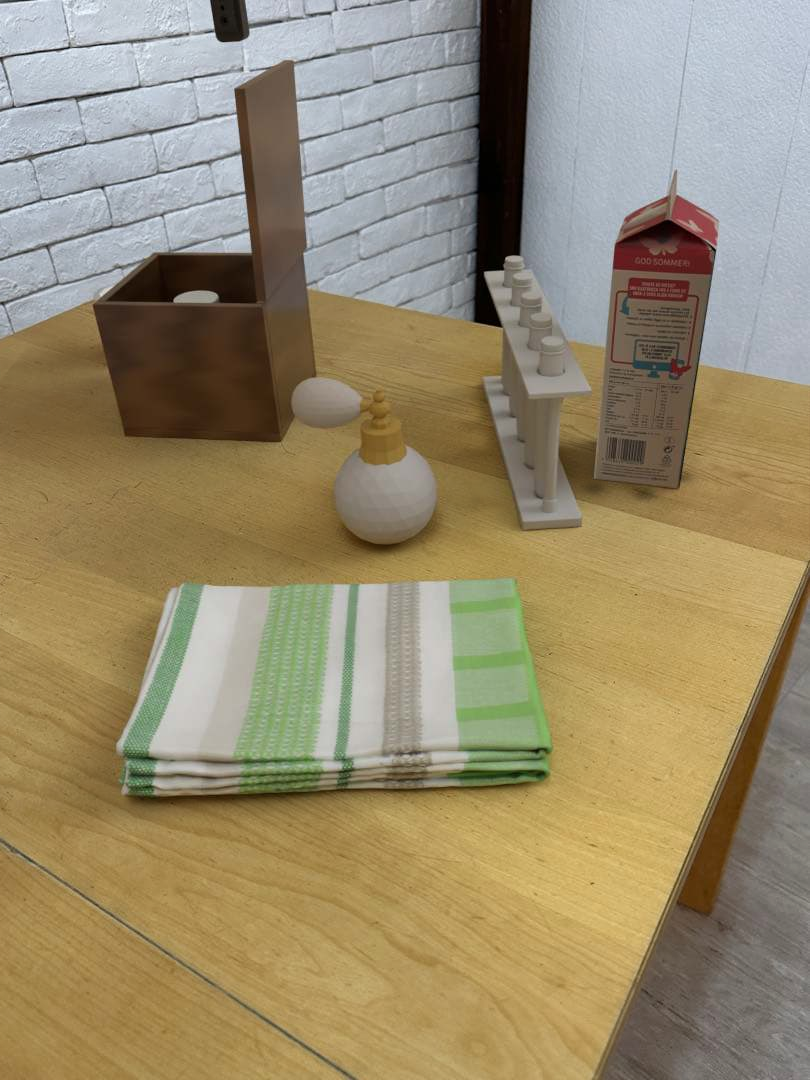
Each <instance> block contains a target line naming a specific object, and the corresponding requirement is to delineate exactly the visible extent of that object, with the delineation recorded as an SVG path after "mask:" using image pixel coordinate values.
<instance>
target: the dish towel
mask: <svg viewBox="0 0 810 1080" xmlns="http://www.w3.org/2000/svg"><path fill="white" fill-rule="evenodd" d="M517 583H518V580H517V579H516V578H514V577H499V578H488V579H486V578H485V579H455V580H454V579H453V580H452V579H451V580H435V581H433V580H432V581H431V580H418V581H416V580H411V581H397V582H396V581H395V582H387V583H352V584H351V583H349V584H348V583H347V584H344V583H341V584H340V583H298V584H286V585H273V586H272V585H271V586H247V585H245V586H244V585H243V586H242V585H237V586H235V585H212V584H205V583H196V582H184V583H181V584H179V587H171V588H170V589H169V592H168V593H167V594H166V597H165V598H166V599H165V601H164V604H163V607H162V611H161V616H160V619H159V622H158V624H157V628H156V629H157V630H156V633H155V637H154V641H153V643H152V648H151V651H150V654H149V657H148V661H147V664H146V667H145V671H144V675H143V678H142V682H141V684H140V689H139V693H138V697H137V700H136V702H135V705H134V707H133V710H132V712H131V714H130V716H129V719H128V721H127V723H126V725H124V728H123V730H122V733H121V736H120V738H119V740H118V741H117V742H116V745H115V751H116V755H117V756H118V757H125V758H124V762H123V766H122V772H121V777H119V779H118V783H119V784H120V785H121V786H122V788H121V791H120V793H121V795H122V796H129V795H130V796H131V795H132V796H136V797H137V796H138V797H150V798H154V797H175V796H209V795H210V796H211V795H215V796H217V795H251V794H264V793H266V794H267V793H272V794H276V793H291V792H293V793H301V792H302V793H306V792H307V793H308V792H318V791H329V790H340V789H341V790H346V789H388V790H398V789H405V790H406V789H407V790H411V789H428V788H444V787H460V788H461V787H483V786H484V787H485V786H497V785H504V784H515V785H516V784H521V783H541V782H543V781H545V780H546V779H548V778H550V776H551V770H550V768H551V767H550V764H549V761H548V758H547V755H550V754H551V753H552V752H553V750H554V747H553V740H552V735H551V731H550V729H549V724H548V720H547V716H546V711H545V708H544V704H543V701H542V697H541V693H540V690H539V685H538V681H537V677H536V673H535V666H534V659H533V656H532V653H531V652H532V651H531V650H530V645H529V642H528V637H527V632H526V626H525V620H524V607H523V602H522V599H521V597H520V594H519V591H518V587H517Z"/></svg>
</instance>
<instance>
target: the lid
mask: <svg viewBox="0 0 810 1080" xmlns="http://www.w3.org/2000/svg"><path fill="white" fill-rule="evenodd" d="M233 91H234V92H233V93H234V100H235V101H234V102H235V109H236V120H237V129H238V138H239V145H240V146H239V147H240V156H241V165H242V166H241V167H242V175H243V185H244V194H245V203H246V205H245V206H246V211H247V224H248V232H249V242H250V249H251V250H250V251H251V253H252V260H253V270H254V279H255V288H256V298H257V301H265V302H266V301H267V300H268V299H269V297H270V296H271V295H272V293H273V292H274V291H275V289H276V288H277V287H278V285H279V284H280V283H281V282H282V280H283V279H284V278H285V276H286V275H287V274H288V272H289V271H290V270H291V268H292V267H293V266H294V264H295V263H296V262H297V261H298V259H299V258H300V257H301V255H302V254H303V255H304V253H305V252H306V250H307V249H308V241H307V228H306V215H305V214H306V213H305V199H304V186H303V185H304V184H303V174H302V173H303V171H302V170H303V169H302V158H301V143H300V131H299V130H300V128H299V117H298V116H299V115H298V102H297V101H298V100H297V87H296V73H295V61H294V59H284V60H282V61H281V62H279V63H277V64H275V65H273V66H271V67H270V68H268V69H266V70H264V71H263V72H261V73H259V74H258V75H256V76H254V77H252V78H251V79H248V80H247V81H245V82H244V83H242V84H240V85H238V86H236V87H235V88H234V89H233Z"/></svg>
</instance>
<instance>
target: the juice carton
mask: <svg viewBox="0 0 810 1080" xmlns="http://www.w3.org/2000/svg"><path fill="white" fill-rule="evenodd" d="M677 184H678V169H674V172H673V175H672V179H671V183H670V187H669V190H668V195H666V196H663V197H662V198H659V199H657V200H655V201H653V202H651V203H649V204H647V205H644V206H642V207H640V208H638V209H636V210H634V211H633V212H630V213H629V214H628V215H626V216H625V217H624V219H623V222H622V224H621V227H620V229H619V232H618V235H617V237H616V240H615V243H614V247H613V248H614V249H613V257H612V258H613V259H612V269H611V270H612V271H611V280H610V292H609V302H608V303H609V304H608V314H607V315H608V316H607V325H606V338H605V348H604V359H603V371H602V381H601V382H602V383H601V392H600V405H599V412H598V413H599V416H598V423H597V424H598V427H597V435H596V448H595V460H594V471H593V480H599V481H600V480H602V481H610V482H617V483H618V482H619V483H626V484H634V485H635V484H636V485H643V486H651V487H652V486H653V487H660V488H670V489H676V490H677V489H679V490H680V487H681V481H682V475H683V467H684V461H685V454H686V448H687V443H688V435H689V428H690V423H691V416H692V410H693V403H694V397H695V390H696V384H697V379H698V372H699V365H700V358H701V352H702V345H703V339H704V333H705V325H706V320H707V319H706V318H707V314H708V308H709V307H708V306H709V301H710V300H709V299H710V294H711V287H712V282H713V281H712V280H713V274H714V269H715V261H716V255H717V248H718V239H719V238H718V237H719V227H720V220H719V219H717V218H716V217H715V216H714V215H713V214H711V213H710V212H709V211H707V210H705V209H703V208H701V207H699V206H698V205H696V204H694V203H692V202H690V201H689V200H688V199H686V198H684V197H682V196H681V195H679V194H677V190H678V189H677V188H678V187H677V186H678V185H677Z"/></svg>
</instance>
